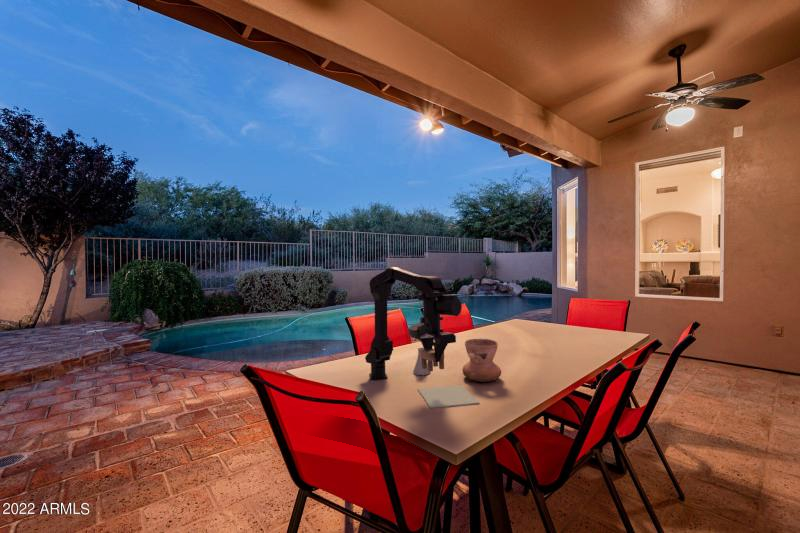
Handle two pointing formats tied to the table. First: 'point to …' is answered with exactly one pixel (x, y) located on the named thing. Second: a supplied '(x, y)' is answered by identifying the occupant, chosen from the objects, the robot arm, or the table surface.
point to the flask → (420, 365)
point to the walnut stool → (431, 359)
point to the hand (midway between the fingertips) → (432, 360)
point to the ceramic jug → (481, 360)
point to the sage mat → (447, 396)
